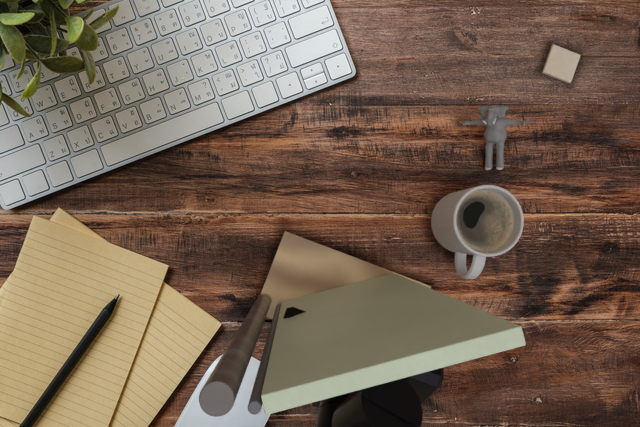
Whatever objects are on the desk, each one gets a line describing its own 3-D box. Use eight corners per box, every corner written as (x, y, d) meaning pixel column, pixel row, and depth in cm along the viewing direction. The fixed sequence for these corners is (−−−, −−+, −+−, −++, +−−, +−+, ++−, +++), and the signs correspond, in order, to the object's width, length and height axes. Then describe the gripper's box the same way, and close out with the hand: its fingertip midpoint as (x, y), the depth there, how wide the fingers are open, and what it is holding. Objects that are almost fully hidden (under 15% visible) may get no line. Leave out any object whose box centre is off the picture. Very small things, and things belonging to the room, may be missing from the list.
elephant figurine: (452, 172, 69) (451, 108, 66) (467, 162, 73) (467, 102, 70) (525, 176, 63) (527, 107, 60) (537, 165, 67) (539, 100, 65)
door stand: (400, 365, 67) (552, 559, 27) (252, 310, 67) (186, 427, 27) (429, 285, 68) (618, 360, 28) (283, 230, 67) (263, 226, 27)
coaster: (569, 83, 70) (571, 82, 70) (541, 73, 70) (543, 71, 69) (578, 56, 70) (581, 54, 70) (551, 45, 70) (553, 43, 70)
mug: (461, 178, 69) (488, 169, 59) (507, 226, 69) (542, 225, 59) (408, 231, 68) (427, 231, 58) (454, 279, 68) (481, 287, 58)
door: (397, 289, 66) (532, 365, 29) (279, 320, 66) (255, 440, 28) (393, 272, 67) (521, 325, 29) (275, 303, 66) (245, 399, 28)
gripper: (244, 418, 53) (282, 310, 65) (400, 474, 54) (409, 357, 66) (265, 370, 46) (303, 258, 58) (445, 435, 47) (446, 311, 59)
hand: (366, 299), depth 60 cm, fingers closed
